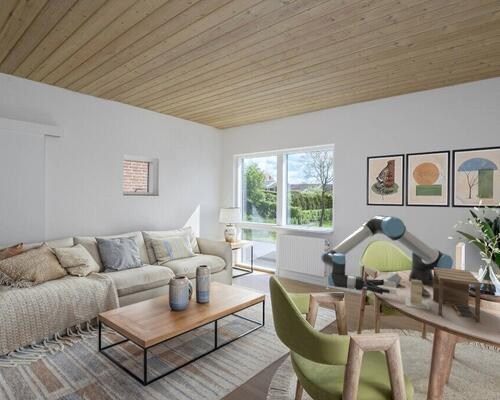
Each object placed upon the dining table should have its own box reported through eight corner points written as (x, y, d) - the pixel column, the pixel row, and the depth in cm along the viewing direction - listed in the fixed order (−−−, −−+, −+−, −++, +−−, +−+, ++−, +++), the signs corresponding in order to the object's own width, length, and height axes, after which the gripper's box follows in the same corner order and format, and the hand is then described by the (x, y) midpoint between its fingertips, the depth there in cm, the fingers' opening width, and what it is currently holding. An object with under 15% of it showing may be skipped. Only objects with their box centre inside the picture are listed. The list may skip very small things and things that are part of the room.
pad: (405, 299, 167) (405, 298, 167) (427, 302, 162) (427, 301, 162) (405, 305, 157) (405, 305, 157) (429, 309, 152) (429, 309, 152)
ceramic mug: (410, 294, 175) (411, 282, 175) (409, 290, 182) (409, 278, 182) (430, 297, 171) (431, 284, 171) (428, 293, 178) (428, 281, 178)
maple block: (410, 301, 162) (410, 279, 162) (420, 302, 160) (421, 280, 160) (410, 304, 158) (411, 281, 158) (421, 305, 156) (422, 283, 155)
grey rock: (400, 288, 189) (405, 274, 192) (387, 280, 191) (393, 267, 194) (394, 288, 197) (399, 276, 200) (382, 281, 198) (387, 269, 201)
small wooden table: (432, 299, 166) (433, 267, 166) (467, 304, 159) (468, 270, 159) (438, 316, 144) (439, 278, 144) (479, 322, 137) (480, 282, 136)
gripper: (357, 283, 184) (396, 288, 174) (352, 295, 161) (396, 302, 152) (358, 271, 184) (396, 276, 174) (353, 282, 161) (396, 287, 152)
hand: (396, 288), depth 163 cm, fingers open, 13 cm apart
